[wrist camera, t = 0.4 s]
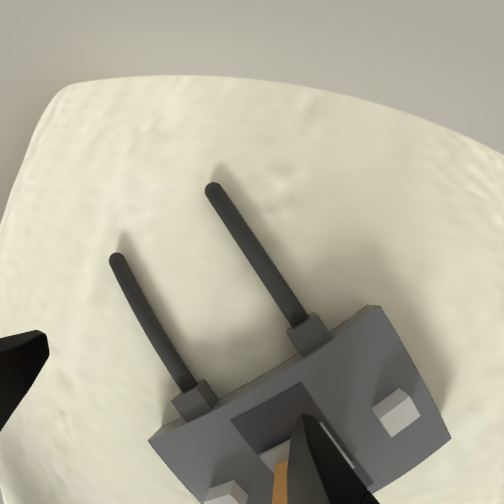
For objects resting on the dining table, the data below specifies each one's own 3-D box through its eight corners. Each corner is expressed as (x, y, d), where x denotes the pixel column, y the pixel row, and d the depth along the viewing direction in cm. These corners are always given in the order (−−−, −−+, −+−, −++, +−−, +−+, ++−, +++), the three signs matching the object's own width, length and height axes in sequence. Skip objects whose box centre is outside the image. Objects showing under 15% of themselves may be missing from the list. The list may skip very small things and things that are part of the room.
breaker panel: (436, 426, 19) (462, 447, 14) (249, 525, 19) (243, 557, 14) (354, 283, 21) (373, 279, 16) (148, 408, 22) (120, 429, 17)
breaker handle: (353, 465, 16) (374, 516, 10) (295, 494, 16) (296, 549, 10) (321, 421, 17) (335, 470, 11) (259, 453, 17) (249, 507, 11)
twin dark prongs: (326, 344, 21) (329, 348, 20) (204, 415, 21) (200, 422, 20) (218, 182, 24) (214, 176, 22) (112, 259, 24) (103, 257, 22)
